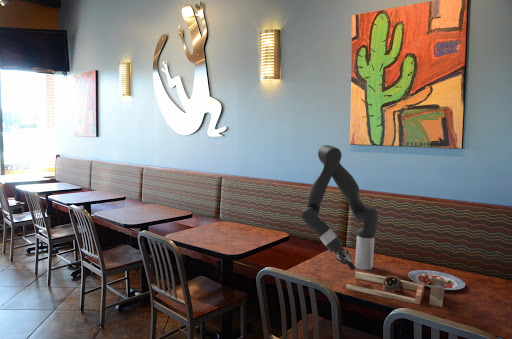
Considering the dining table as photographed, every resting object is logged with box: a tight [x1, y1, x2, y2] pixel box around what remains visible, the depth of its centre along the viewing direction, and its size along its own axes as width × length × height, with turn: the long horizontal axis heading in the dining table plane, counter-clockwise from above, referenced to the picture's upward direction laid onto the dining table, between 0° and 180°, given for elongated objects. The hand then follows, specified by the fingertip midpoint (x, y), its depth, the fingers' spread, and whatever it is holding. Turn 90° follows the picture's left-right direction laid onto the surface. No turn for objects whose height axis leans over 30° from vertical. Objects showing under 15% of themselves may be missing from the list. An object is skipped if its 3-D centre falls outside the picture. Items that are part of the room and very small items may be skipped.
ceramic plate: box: [407, 269, 466, 291], centre depth 197 cm, size 26×26×3 cm
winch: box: [428, 278, 445, 308], centre depth 174 cm, size 15×5×9 cm, turn 152°
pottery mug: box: [382, 274, 405, 293], centre depth 185 cm, size 12×10×8 cm
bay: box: [345, 270, 425, 306], centre depth 186 cm, size 18×32×4 cm, turn 62°
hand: (354, 269), depth 192 cm, fingers closed
